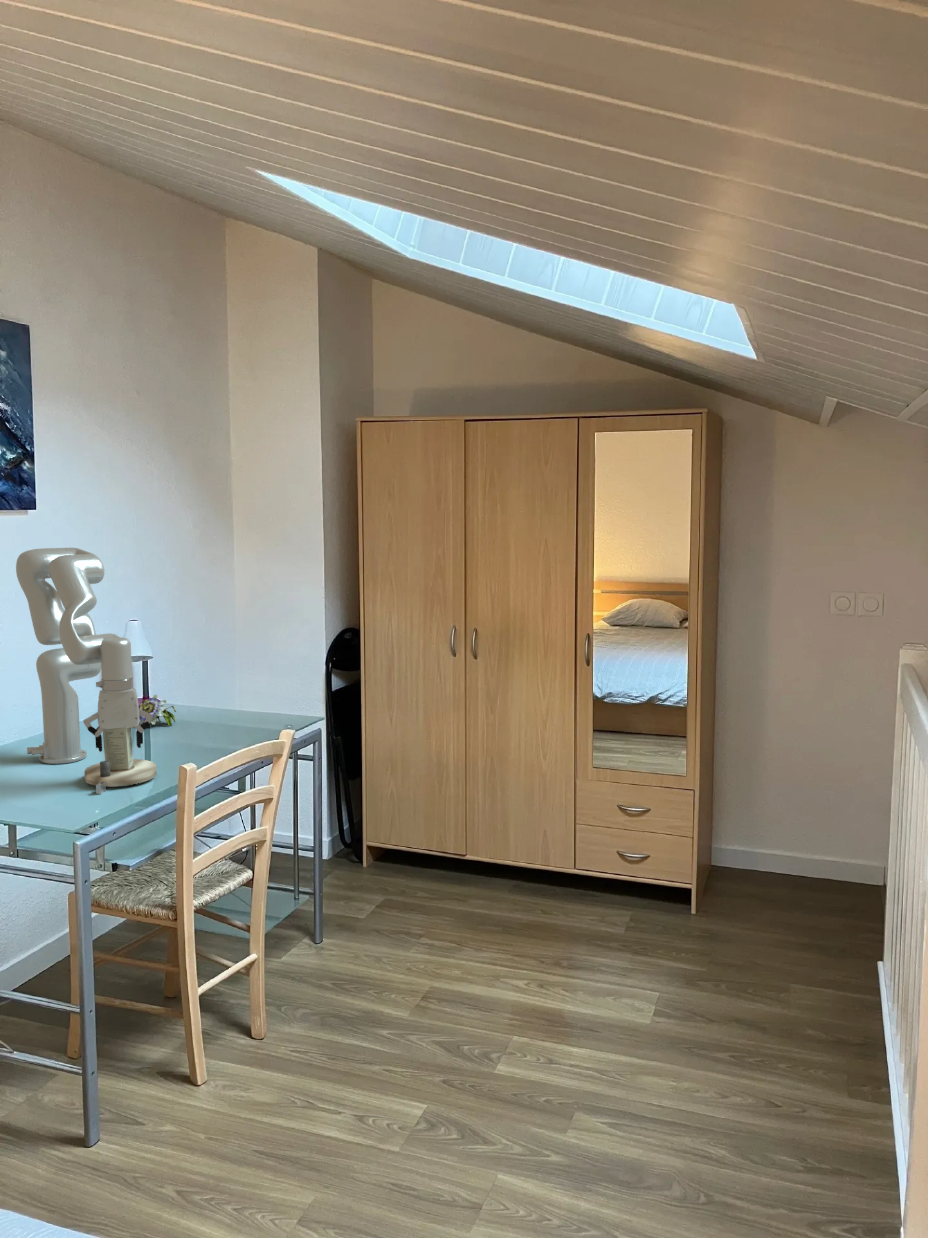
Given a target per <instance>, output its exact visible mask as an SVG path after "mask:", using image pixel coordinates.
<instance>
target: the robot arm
mask: <svg viewBox="0 0 928 1238" xmlns="http://www.w3.org/2000/svg"><path fill="white" fill-rule="evenodd" d="M15 573H16V577H17V581H18V584H19V585H20V587H21V590H22V591H23V594H24V596H25V598H26V600H27V604H28V609H29V613H30V618H31V622H32V626H33V627H32V628H33V631H34V635H35V638H36V640H37V641H38V643H39V644H41V645H43V646H44V645H45V646H55V645H62V647H59V648H54V649H49V650H45V651H43V652H42V653H40V654H39V656H38V657H37V659H36V661H35V663H36V664H35V666H36V667H35V668H36V672H37V676H38V680H39V685H40V692H41V693H40V694H41V707H42V708H41V709H42V725H43V727H42V728H43V742H42V744H39V745H38V746H35V747H34V746H31V747H27V748H26V750H27V751H26V753H27V755H31V756H36V755H38V760H39V762H41V763H42V764H52V765H58V764H69V763H75V762H79V761H82V760H84V759H85V758H86V757H88V756H87V754H88V753H87V751H86V750H84V749H81V733H80V732H81V729H80V728H81V727H80V707H79V706H80V705H79V696H78V692H76V690H75V689H74V688H73V687H72V686H71V685H70V682H74V681H78V680H86V679H91V678H92V679H93V678H95V677H97V676H98V675H99V674H100V673H101V679H100V681H96V682H95V687H96V688H101V690H99V693H98V700H97V701H98V702H97V712H95V713H93V714H92V715H89V716H88V717H86V718H85V719H83V721H82V722H83V724H84V726H85V728H86V729H87V731H88V732H89V733H91V734H92V735H93V736H94V737H95V738H94V741H95V749H98V751H99V753H100V752H103V739H102V734H103V730H112V729H121V728H124V727H125V725H126V728H131V729H133V728H135V729H136V731H135V734H136V735H135V737H136V747H137V749H140V748H142V747H141V746H142V744H144V736H143V735H144V734H143V733H144V732H145V730H146V729H147V728H148V727H149V726H150V723H151V720H152V718H153V715H152V714H150V713H148V712H145V711H142V710H140V709H139V708H140V706H139V699H138V693H137V690H136V688H133V671H132V669H133V668H132V667H133V665H132V645H131V641H130V639H128V638H126V637H120V636H119V635H117V634H115V633H100V634H97V633H96V630H95V626H94V625H95V624H94V621H93V619H92V618H91V616H90V614H89V612H91V611H92V610H93V609H94V608H95V606H96V605H97V601H98V600H97V597H96V594H95V593H94V591H93V588H92V586H91V585H93V584H94V585H95V584H99V583H101V582H102V581H103V579H104V578H105V567H104V564H103V561H102V560H101V558H99V556H97V554H94V553H92V552H90V551H86V550H84V549H81V548H78V547H50V548H49V547H48V548H47V547H46V548H34V549H33V548H32V549H29V550H26V551H23V552H21V553H20V554H19V555H18V557H17V559H16V563H15ZM46 579H51V581H52V583H53V585H54V586H53V585H52V584H50V583H49V582H48V581H47V580H46ZM139 715H141V716H143V717H146V720H145V722H144V723H143V724H142V725H140V719H139ZM95 720H97V723H98V725H97V727H96V728H95V727H94V726H92V724H91V723H92V722H93V721H95Z"/></svg>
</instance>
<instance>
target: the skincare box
mask: <svg viewBox="0 0 928 1238" xmlns="http://www.w3.org/2000/svg"><path fill="white" fill-rule="evenodd" d="M102 736H103V739H102V740H103V748H104V750H103V751H104V761H110V770H124V769H130V768H131V767H132V766H133V759H134V757H133V756H134V755H133V743H132V728H126V725H125V727H124V728H121V729H112V730H103V732H102Z"/></svg>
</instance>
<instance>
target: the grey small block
mask: <svg viewBox="0 0 928 1238" xmlns="http://www.w3.org/2000/svg"><path fill="white" fill-rule="evenodd" d="M104 791H105V792H107V787H106V781H102V782H100V783H98V784H97V785H96V786H95V794H96V795H102V794H104V793H105V792H104ZM103 792H104V793H103ZM101 793H102V794H101Z"/></svg>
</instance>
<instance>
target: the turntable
mask: <svg viewBox="0 0 928 1238" xmlns="http://www.w3.org/2000/svg"><path fill="white" fill-rule="evenodd" d="M157 771H158V770H157V764H156V763H155V762H153V761H152V760H147V759H139V758H138V759H137V758H133V766H132V767H131V768H130V769H124V770H110V761H105V760H101V761H100V762H98V763H95V764H92V765H90V766H88V767H86V768H85V769H84V782H86V783H87V784H89V785H91V786H95V787H96V785H97V784H98V783H100V782H102V781H106V788H113V787H112V786H124V787H127V786H126V785H131V786H134V785H133V784H136V785H138V783H139V784H142V783H144V782H145V783H146V782H147V781H150V780H152V779H154V778H155V777H156V776H157V775H158V773H157Z"/></svg>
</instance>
